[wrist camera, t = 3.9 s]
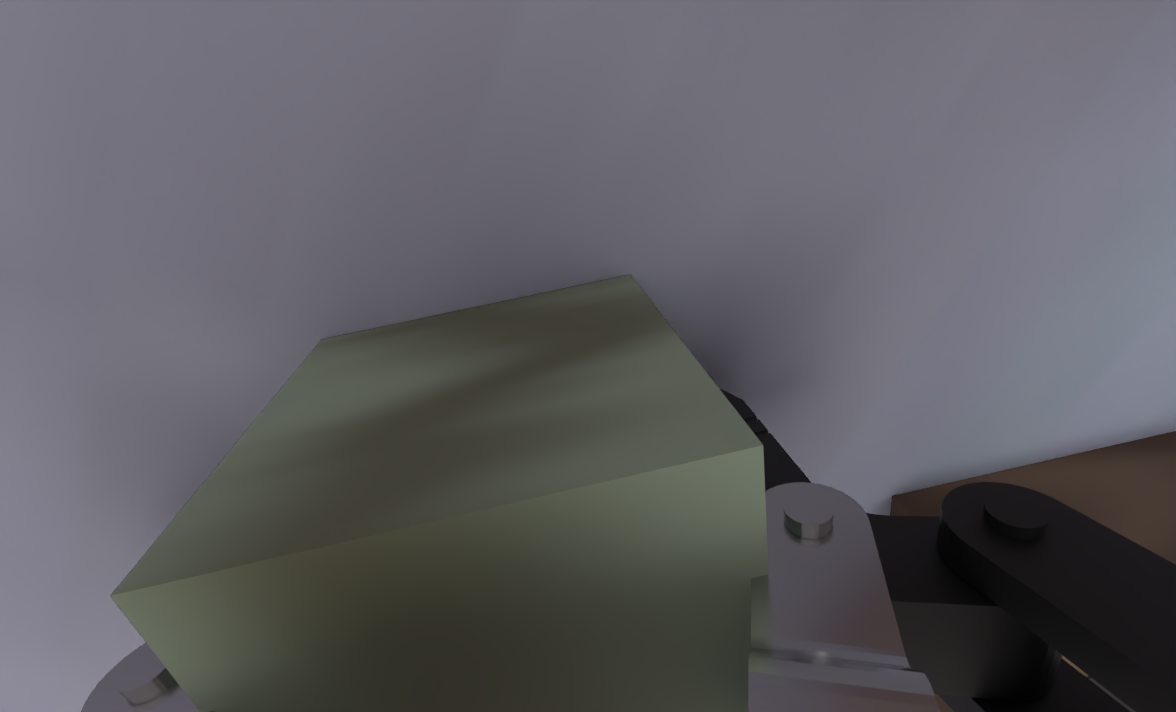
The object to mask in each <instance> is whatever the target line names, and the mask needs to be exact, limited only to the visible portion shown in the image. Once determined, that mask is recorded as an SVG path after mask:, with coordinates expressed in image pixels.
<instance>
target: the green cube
mask: <svg viewBox="0 0 1176 712" xmlns="http://www.w3.org/2000/svg"><path fill="white" fill-rule="evenodd" d="M767 574H769V572H768V548H767V523H766V498H765V474H764V449H763V444H762V443H761V442H760V440H759V439H758V438H757V436H756V435H755V434H754V433H753V431H752V430H751V429H750V427H749V426H748V425H747V424H746V422H745V421H744V420H743V418H742V417H741V416H740V415H739V413H738V412H737V411H736V409H735V408H734V407H733V406H732V404H731V403H730V402H729V401H728V399H727V398H726V397H725V395H724V394H723V393H722V392H721V390H720V389H719V388H718V386H717V385H716V384H715V383H714V381H713V380H712V379H711V377H710V376H709V375H708V374H707V372H706V371H705V370H704V368H703V367H702V366H701V365H700V363H699V362H698V361H697V359H696V358H695V357H694V356H693V354H692V353H691V352H690V350H689V349H688V348H687V347H686V345H685V344H684V343H683V341H682V340H681V339H680V338H679V336H678V335H677V334H676V332H675V331H674V330H673V329H672V327H671V326H670V325H669V323H668V322H667V321H666V320H665V318H664V317H663V316H662V314H661V313H660V312H659V311H658V309H657V308H656V307H655V305H654V304H653V303H652V302H651V300H650V299H649V298H648V296H647V295H646V294H645V293H644V291H643V290H642V289H641V287H640V286H639V285H638V284H637V282H636V281H635V280H634V278H633V277H632V276H631V275H626V276H621V277H616V278H611V279H607V280H602V281H597V282H592V283H588V284H583V285H578V286H573V287H569V288H564V289H559V290H554V291H550V292H545V293H540V294H535V295H531V296H526V297H521V298H516V299H512V300H507V301H502V302H497V303H493V304H488V305H483V306H478V307H474V308H469V309H464V310H459V311H455V312H450V313H445V314H440V315H436V316H431V317H426V318H421V319H417V320H412V321H407V322H402V323H398V324H393V325H388V326H383V327H379V328H374V329H369V330H364V331H360V332H355V333H350V334H345V335H341V336H336V337H331V338H326V339H322V340H321V341H320V342H319V343H318V344H317V346H316V347H315V348H314V349H313V350H312V352H311V353H310V354H309V355H308V356H307V358H306V359H305V360H304V361H303V363H302V364H301V365H300V366H299V367H298V369H297V370H296V371H295V372H294V373H293V375H292V376H291V377H290V378H289V379H288V381H287V382H286V383H285V384H284V386H283V387H282V388H281V389H280V390H279V392H278V393H277V394H276V395H275V396H274V398H273V399H272V400H271V401H270V403H269V404H268V405H267V406H266V407H265V409H264V410H263V411H262V412H261V413H260V415H259V416H258V417H257V418H256V420H255V421H254V422H253V423H252V424H251V426H250V427H249V428H248V429H247V430H246V432H245V433H244V434H243V435H242V436H241V438H240V439H239V440H238V441H237V443H236V444H235V445H234V446H233V447H232V449H231V450H230V451H229V452H228V453H227V455H226V456H225V457H224V458H223V460H222V461H221V462H220V463H219V464H218V466H217V467H216V468H215V469H214V470H213V472H212V473H211V474H210V475H209V476H208V478H207V479H206V480H205V481H204V483H203V484H202V485H201V486H200V487H199V489H198V490H197V491H196V492H195V493H194V495H193V496H192V497H191V498H190V500H189V501H188V502H187V503H186V504H185V506H184V507H183V508H182V509H181V510H180V512H179V513H178V514H177V515H176V516H175V518H174V519H173V520H172V521H171V523H170V524H169V525H168V526H167V527H166V529H165V530H164V531H163V532H162V533H161V535H160V536H159V537H158V538H157V540H156V541H155V542H154V543H153V544H152V546H151V547H150V548H149V549H148V550H147V552H146V553H145V554H144V555H143V557H142V558H141V559H140V560H139V561H138V563H137V564H136V565H135V566H134V567H133V569H132V570H131V571H130V572H129V573H128V575H127V576H126V577H125V578H124V580H123V581H122V582H121V583H120V584H119V586H118V587H117V588H116V589H115V590H114V592H113V593H112V594H111V595H110V597H111V598H112V599H113V601H114V602H115V603H116V605H117V606H118V607H119V608H120V610H121V611H122V612H123V614H124V615H125V616H126V617H127V619H128V620H129V621H130V623H131V624H132V625H133V626H134V628H135V629H136V630H137V632H138V633H139V634H140V635H141V637H142V638H143V639H144V641H145V642H146V643H147V644H148V646H149V647H150V648H151V650H152V651H153V652H154V653H155V655H156V656H157V657H158V659H159V660H160V661H161V662H162V664H163V665H164V666H165V667H166V669H167V670H168V671H169V673H170V674H171V675H172V676H173V678H174V679H175V680H176V682H177V683H178V684H179V685H180V687H181V688H182V689H183V691H184V692H185V693H186V694H187V696H188V697H189V698H190V700H191V701H192V702H193V703H194V705H195V706H196V707H197V709H198V710H199V711H200V712H209V711H213V710H214V711H215V712H748V670H749V649H751V578H755V577H759V576H763V575H767Z"/></svg>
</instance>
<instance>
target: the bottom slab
mask: <svg viewBox="0 0 1176 712" xmlns="http://www.w3.org/2000/svg"><path fill="white" fill-rule="evenodd" d="M975 482H1000V483H1007V484H1013V485H1018V486H1022V487H1026V488H1029V489H1032V490H1035V491H1038V492H1041V493H1043V494H1046V495H1048V496H1050V497H1052V498H1054V499H1056V500H1058V501H1060V502H1062V503H1064V504H1065V505H1067V506H1069V507H1071V508H1073V509H1075V510H1077V511H1078V512H1080V513H1082V514H1084V515H1086V516H1088V517H1089V518H1091V519H1093V520H1095V521H1097V522H1099V523H1100V524H1102V525H1104V526H1106V527H1108V528H1110V529H1111V530H1113V531H1115V532H1117V533H1119V534H1121V535H1122V536H1124V537H1126V538H1128V539H1130V540H1132V541H1133V542H1135V543H1137V544H1139V545H1141V546H1143V547H1144V548H1146V549H1148V550H1150V551H1152V552H1154V553H1155V554H1157V555H1159V556H1161V557H1163V558H1165V559H1166V560H1168V561H1170V562H1172V563H1174V564H1176V431H1174V432H1170V433H1165V434H1161V435H1157V436H1152V437H1148V438H1144V439H1139V440H1135V441H1130V442H1126V443H1122V444H1117V445H1113V446H1109V447H1104V448H1100V449H1095V450H1091V451H1087V452H1082V453H1078V454H1074V455H1069V456H1065V457H1060V458H1056V459H1052V460H1047V461H1043V462H1039V463H1034V464H1030V465H1026V466H1021V467H1017V468H1012V469H1008V470H1004V471H999V472H995V473H991V474H986V475H982V476H977V477H973V478H969V479H964V480H960V481H956V482H951V483H947V484H942V485H938V486H934V487H929V488H925V489H921V490H916V491H912V492H907V493H903V494H899V495H894V496H892V502H891V512H890V516H940V514H941V507H942V502H943V499H944V498H945V496H946V495H947V494H948V493H949V492H950V491H951V490H953V489H955V488H957V487H959V486H962V485H965V484H970V483H975ZM1062 659H1063V660H1065V661H1066V662H1067V663H1069V664H1070V665H1071V666H1072V667H1074V668H1075V669H1076V670H1078V671H1079V672H1080V673H1081V674H1083V675H1084V676H1085V677H1087V678H1088V679H1089V678H1091V677H1090V676H1089V675H1087V674H1086V673H1085V672H1083V671H1082V670H1081V669H1080V668H1078V667H1077V666H1076V665H1074V664H1073V663H1072V662H1071V661H1069V660H1068V659H1067V658H1065V657H1064V656H1063V655H1062ZM935 697H936V700H937V703H938V706H939V710H940V712H954V711H953V710H952V709H951V708H950V707H949V706H948V705H947V704H946V703H945V702H944V701H943V700H942V699H941V697H940V696H939V695H938V694H935Z"/></svg>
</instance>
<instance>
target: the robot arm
mask: <svg viewBox="0 0 1176 712" xmlns="http://www.w3.org/2000/svg"><path fill="white" fill-rule="evenodd" d="M720 390H721V392H722V393H723V394H724V395H725V397H726V398H727V399H728V401H729V402H730V403H731V404H732V406H733V407H734V408H735V409H736V411H737V412H738V413H739V415H740V416H741V417H742V418H743V420H744V421H745V422H746V424H747V425H748V426H749V427H750V429H751V430H752V431H753V433H754V434H755V435H756V436H757V438H758V439H759V440H760V442H761V443H762V444H763V449H764V474H765V498H766V523H767V548H768V572H769V574H767V575H763V576H759V577H755V578H751V649H749V670H748V712H940V710H939V706H938V703H937V700H936V697H935V694H938V695H939V696H940V697H941V699H942V700H943V701H944V702H945V703H946V704H947V705H948V706H949V707H950V708H951V709H952V710H953V711H954V712H1130V711H1129V710H1128V709H1127V708H1125V707H1124V706H1123V705H1121V704H1120V703H1119V702H1117V701H1116V700H1115V699H1114V698H1112V697H1111V696H1110V695H1108V694H1107V693H1106V692H1105V691H1103V690H1102V689H1101V688H1099V687H1098V686H1097V685H1096V684H1094V683H1093V682H1092V681H1090V680H1089V679H1088V678H1087V677H1085V676H1084V675H1083V674H1081V673H1080V672H1079V671H1078V670H1076V669H1075V668H1074V667H1072V666H1071V665H1070V664H1069V663H1067V662H1066V661H1065V660H1063V659H1062V655H1063V656H1064V657H1065V658H1067V659H1068V660H1069V661H1071V662H1072V663H1073V664H1074V665H1076V666H1077V667H1078V668H1080V669H1081V670H1082V671H1083V672H1085V673H1086V674H1087V675H1089V676H1090V677H1091V678H1093V679H1094V680H1095V681H1096V682H1098V683H1099V684H1100V685H1102V686H1103V687H1104V688H1105V689H1107V690H1108V691H1109V692H1111V693H1112V694H1113V695H1115V696H1116V697H1117V698H1118V699H1120V700H1121V701H1122V702H1124V703H1125V704H1126V705H1127V706H1129V707H1130V708H1131V709H1133V710H1134V711H1135V712H1176V564H1174V563H1172V562H1170V561H1168V560H1166V559H1165V558H1163V557H1161V556H1159V555H1157V554H1155V553H1154V552H1152V551H1150V550H1148V549H1146V548H1144V547H1143V546H1141V545H1139V544H1137V543H1135V542H1133V541H1132V540H1130V539H1128V538H1126V537H1124V536H1122V535H1121V534H1119V533H1117V532H1115V531H1113V530H1111V529H1110V528H1108V527H1106V526H1104V525H1102V524H1100V523H1099V522H1097V521H1095V520H1093V519H1091V518H1089V517H1088V516H1086V515H1084V514H1082V513H1080V512H1078V511H1077V510H1075V509H1073V508H1071V507H1069V506H1067V505H1065V504H1064V503H1062V502H1060V501H1058V500H1056V499H1054V498H1052V497H1050V496H1048V495H1046V494H1043V493H1041V492H1038V491H1035V490H1032V489H1029V488H1026V487H1022V486H1018V485H1013V484H1007V483H1000V482H975V483H970V484H965V485H962V486H959V487H957V488H955V489H953V490H951V491H950V492H949V493H948V494H947V495H946V496H945V498H944V499H943V502H942V507H941V514H940V516H886V515H875V514H868V513H866V512H865V511H864V509H863V508H862V507H861V506H860V505H859V504H858V503H857V502H856V501H855V500H854V499H852V498H851V497H850V496H848V495H846V494H845V493H843V492H841V491H839V490H836V489H834V488H832V487H828V486H825V485H821V484H815V483H811V482H810V480H809V479H808V478H807V477H806V476H805V474H804V473H803V472H802V471H801V470H800V468H799V467H798V466H797V465H796V464H795V462H794V461H793V460H792V459H791V458H790V456H789V455H788V454H787V453H786V452H785V450H784V449H783V448H782V447H781V445H780V444H779V443H778V442H777V441H776V439H775V438H774V437H773V436H772V435H771V433H768V431H767V429H766V427H765V426H764V425H763V424H762V423H761V421H760V420H757V418H756V415H755V414H754V413H753V412H752V410H751V409H750V408H749V407H748V406H747V404H746V403H745V402H744V401H743V400H742V399H740V398H738V397H736V396H734V395H732V394H730V393H728V392H726V391H724V390H722V389H720ZM81 712H200V711H199V710H198V709H197V707H196V706H195V705H194V703H193V702H192V701H191V700H190V698H189V697H188V696H187V694H186V693H185V692H184V691H183V689H182V688H181V687H180V685H179V684H178V683H177V682H176V680H175V679H174V678H173V676H172V675H171V674H170V673H169V671H168V670H167V669H166V667H165V666H164V665H163V664H162V662H161V661H160V660H159V659H158V657H157V656H156V655H155V653H154V652H153V651H152V650H151V648H150V647H149V646H148V644H147V643H145V644H143V645H142V646H140V647H139V648H137V649H136V650H134V651H133V652H132V653H130V654H129V655H128V656H126V657H125V658H124V659H123V660H122V661H120V662H119V663H118V664H117V665H116V666H115V667H114V668H112V669H111V670H110V671H109V672H108V673H107V674H106V675H105V676H104V678H103V679H102V680H101V681H100V682H99V683H98V684H97V686H96V687H95V688H94V690H93V691H92V692H91V694H90V695H89V697H88V699H87V700H86V702H85V704H84V706H83V709H82V711H81ZM209 712H215V711H214V710H213V711H209Z"/></svg>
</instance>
